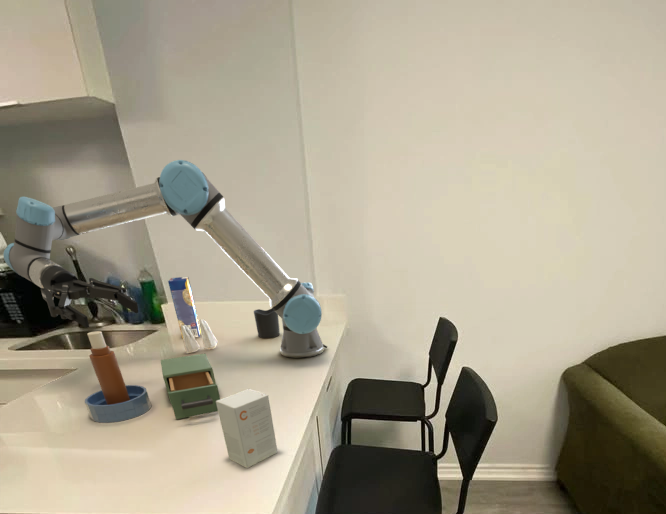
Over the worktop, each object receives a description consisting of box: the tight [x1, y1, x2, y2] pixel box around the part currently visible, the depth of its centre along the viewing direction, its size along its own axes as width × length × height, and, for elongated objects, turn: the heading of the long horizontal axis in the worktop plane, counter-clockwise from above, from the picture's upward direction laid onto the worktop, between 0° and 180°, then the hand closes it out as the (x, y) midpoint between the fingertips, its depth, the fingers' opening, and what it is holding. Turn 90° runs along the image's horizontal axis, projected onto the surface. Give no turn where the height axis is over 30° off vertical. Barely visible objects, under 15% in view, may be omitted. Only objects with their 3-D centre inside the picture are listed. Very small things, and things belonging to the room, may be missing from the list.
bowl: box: [84, 384, 152, 424], centre depth 110 cm, size 14×14×5 cm
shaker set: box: [180, 318, 219, 354], centre depth 157 cm, size 12×4×11 cm, turn 111°
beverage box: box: [167, 276, 201, 340], centre depth 176 cm, size 7×11×22 cm, turn 15°
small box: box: [216, 388, 278, 469], centre depth 85 cm, size 8×6×13 cm
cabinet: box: [160, 352, 217, 404], centre depth 120 cm, size 15×12×8 cm
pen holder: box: [253, 308, 281, 339], centre depth 173 cm, size 9×9×10 cm
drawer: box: [167, 371, 221, 420], centre depth 108 cm, size 18×11×7 cm, turn 24°
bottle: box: [87, 330, 130, 405], centre depth 106 cm, size 5×5×20 cm
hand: (112, 314), depth 106 cm, fingers open, 13 cm apart
